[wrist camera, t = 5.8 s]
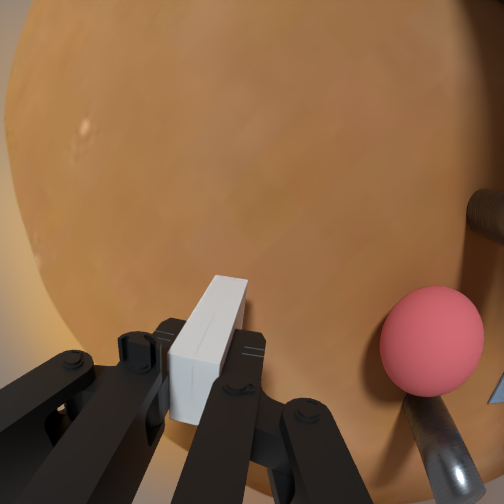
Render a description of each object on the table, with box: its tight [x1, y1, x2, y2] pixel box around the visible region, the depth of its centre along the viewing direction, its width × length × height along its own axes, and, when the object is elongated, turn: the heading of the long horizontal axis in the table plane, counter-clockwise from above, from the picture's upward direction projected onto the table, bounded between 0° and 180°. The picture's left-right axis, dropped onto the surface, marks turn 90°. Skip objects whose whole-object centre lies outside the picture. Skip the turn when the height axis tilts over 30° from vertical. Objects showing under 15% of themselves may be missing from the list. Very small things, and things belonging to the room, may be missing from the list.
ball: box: [380, 286, 484, 397], centre depth 13 cm, size 6×6×6 cm
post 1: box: [403, 393, 486, 504], centre depth 13 cm, size 3×3×9 cm
